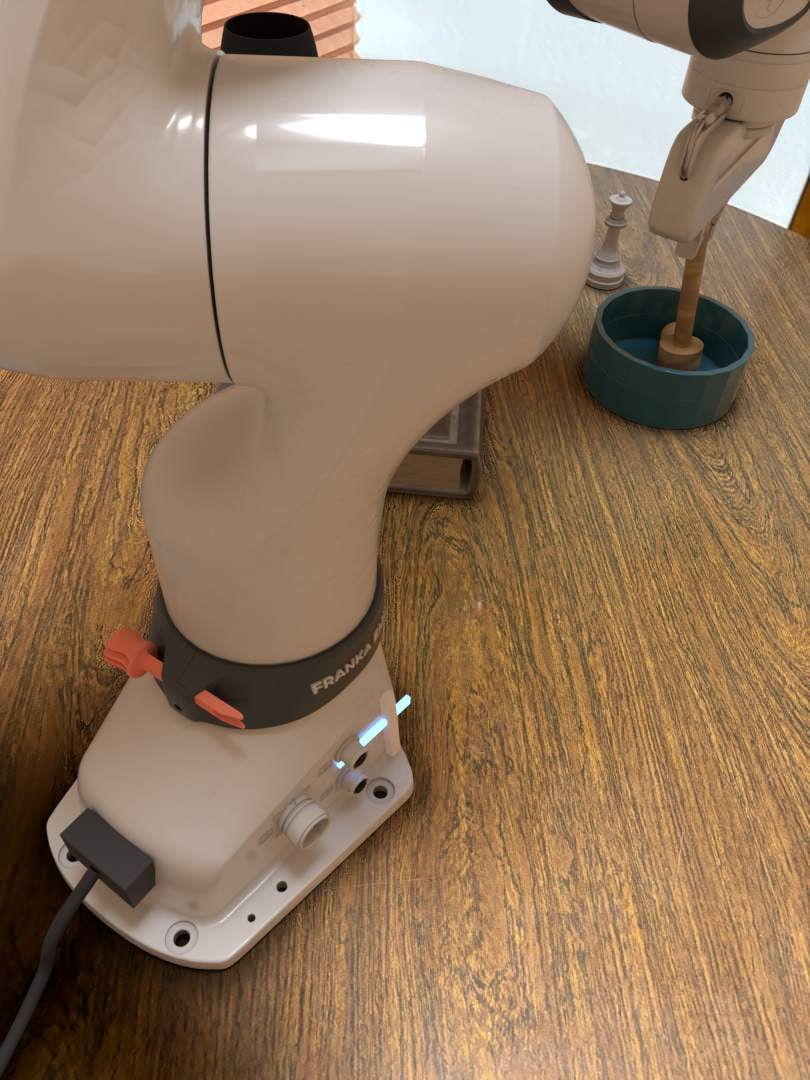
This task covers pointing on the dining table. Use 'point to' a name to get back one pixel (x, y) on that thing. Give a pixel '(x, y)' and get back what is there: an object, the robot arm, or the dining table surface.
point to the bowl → (656, 392)
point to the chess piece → (610, 248)
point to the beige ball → (668, 330)
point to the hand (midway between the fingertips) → (692, 248)
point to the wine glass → (268, 35)
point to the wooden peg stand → (686, 319)
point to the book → (442, 454)
